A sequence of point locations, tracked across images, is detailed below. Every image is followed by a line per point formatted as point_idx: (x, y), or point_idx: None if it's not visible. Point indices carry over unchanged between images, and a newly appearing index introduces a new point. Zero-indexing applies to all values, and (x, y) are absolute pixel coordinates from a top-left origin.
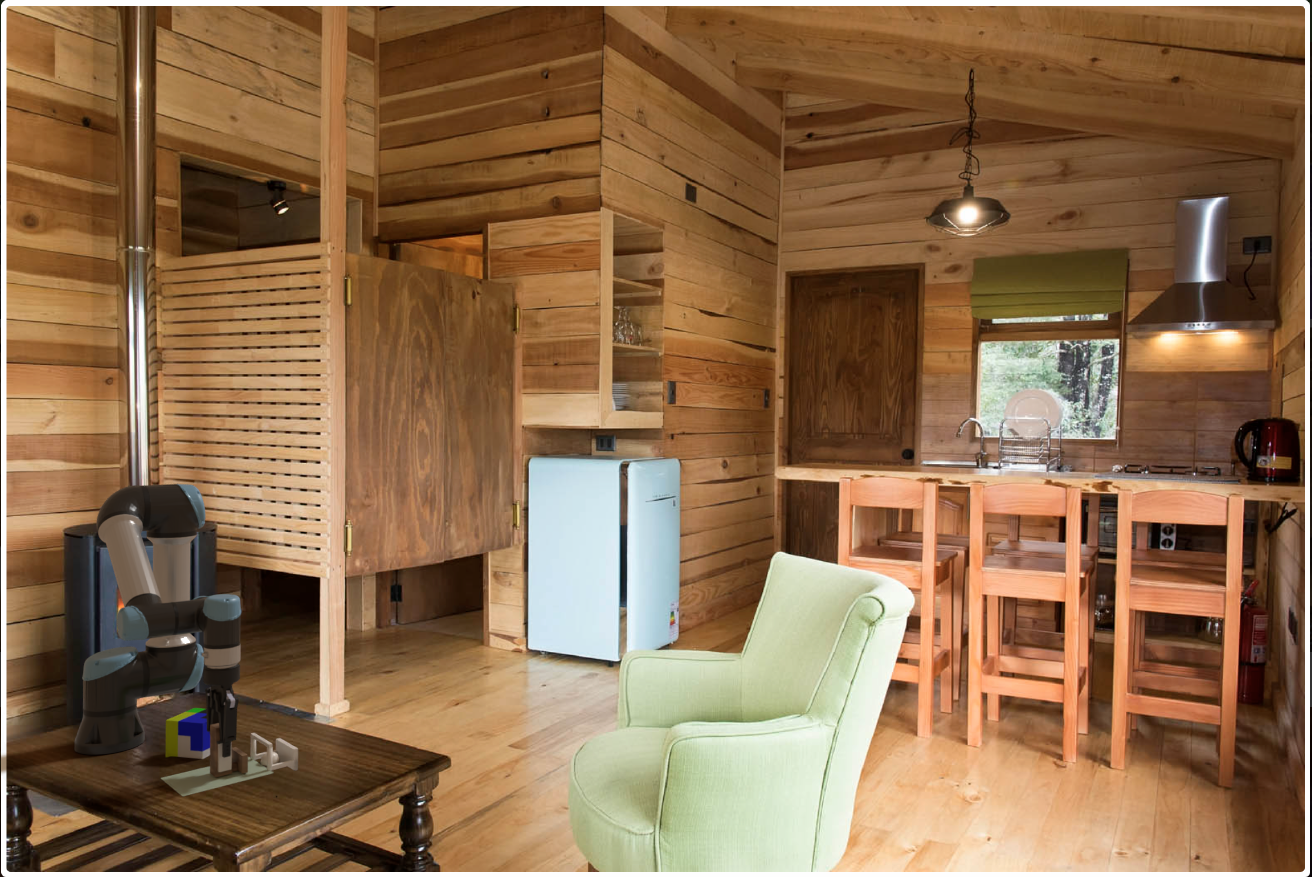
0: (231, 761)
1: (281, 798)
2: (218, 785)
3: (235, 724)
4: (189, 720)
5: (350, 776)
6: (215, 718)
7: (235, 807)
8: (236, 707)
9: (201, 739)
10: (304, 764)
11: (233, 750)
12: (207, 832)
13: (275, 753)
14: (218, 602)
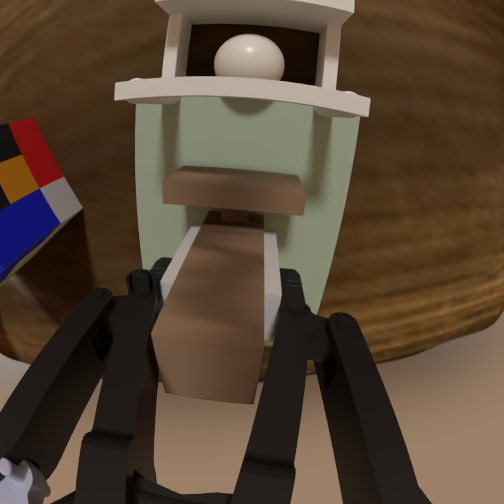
0: (276, 242)
1: (464, 189)
2: (315, 277)
3: (380, 392)
4: None
5: (465, 12)
6: (151, 402)
7: (418, 278)
8: (416, 492)
9: (36, 242)
10: None
11: (196, 205)
12: (441, 342)
13: (264, 44)
14: None
